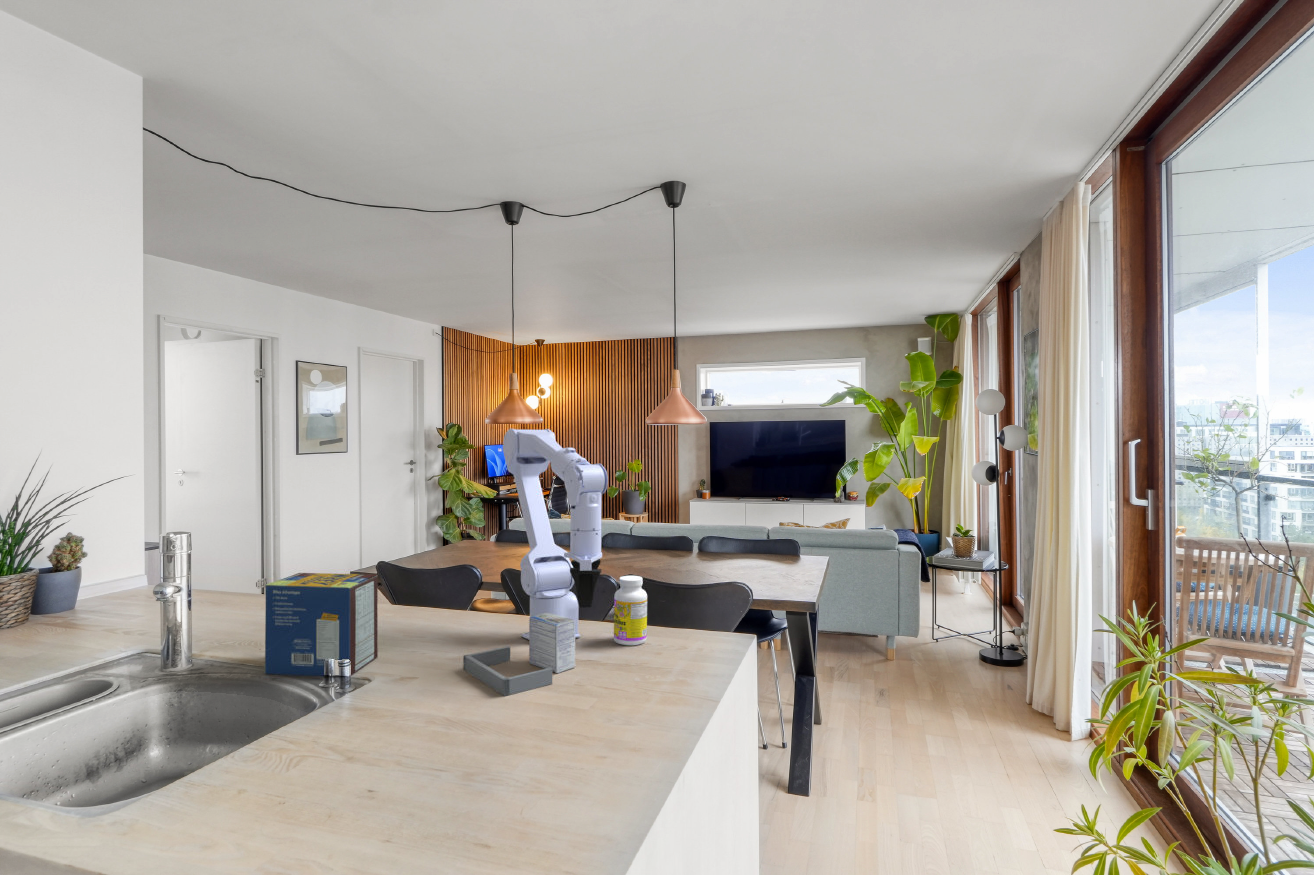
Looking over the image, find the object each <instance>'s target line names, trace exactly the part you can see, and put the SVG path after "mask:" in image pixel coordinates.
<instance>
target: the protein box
mask: <svg viewBox="0 0 1314 875" xmlns="http://www.w3.org/2000/svg"><path fill="white" fill-rule="evenodd" d="M264 585H265V586H264V587H265V624H264V625H265V630H264V631H265V634H264V635H265V637H264V639H265V641H264V644H265V645H264V646H265V649H264V674H265V675H281V676H282V675H285V676H287V675H288V676H289V675H290V676H314V677H325V676H324V661H325V659H328V658H331V659H335V660H342V659H349V660H350V661H351V676H353V675H355V673H357V672H359V671H360V670H361V669H363V668H364V667H366V666H367V665H368V664H370V663H372V662H373V661H374V660H375V659H378V656H379V654H378V651H379V650H378V649H379V648H378V632H379V630H378V622H379V621H378V616H379V615H378V602H379V601H378V592H379V591H378V590H379V589H378V587H379V586H378V585H379V584H378V574H373V573H372V574H371V573H364V574H363V573H362V574H361V573H327V572H326V573H322V572H321V573H318V572H317V573H315V572H314V573H313V572H298V573H295V574H293V575H289V576H287V577H284V578H281V579H278V580H275V581H273V582H269V583H267V584H264Z"/></svg>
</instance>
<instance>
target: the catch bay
mask: <svg viewBox="0 0 1314 875" xmlns="http://www.w3.org/2000/svg"><path fill="white" fill-rule="evenodd" d="M462 659H463V661H462V664H463V666H462V667H463V668H462V670H463V671H464V672H465V673H466V672H467V674H469V675H471V676H472V677H474V678H475V679H477V680H479V681H480V682H482V683H483V684H485V685H487V686H488V687H489V688H491V689H493V690H494V691H496V692H498V693H499V694H501V695H502V696H504V697H507V696H510V695H515V694H518V693H523V692H526V691H531V690H534V689H539V688H542V687H546V686H550V685H553V671H552V669H551V668H547V669H544V668H542V669H539V670H534V671H531V672H526V673H523V674H522V673H521V674H518V675H514V676H509V677H506V676H504V675H503V674H501V673H500V672H498V671H497V670H495V669H494V668H491V667H490V666H494V665H498V664H502V663H506V662H511V647H510V646H509V645H507V646H502V647H498V648H493V649H487V650H484V651H478V652H474V653H469V654H464V655H463V658H462Z"/></svg>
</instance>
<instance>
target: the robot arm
mask: <svg viewBox="0 0 1314 875" xmlns="http://www.w3.org/2000/svg"><path fill="white" fill-rule="evenodd" d="M502 451H503V455H504V456H503V457H504V460H505V464H506V468H507V471H508V472H509V473H511V474H512V475H513V477H514V482H515V486H516V487H515V488H516V492H517V495H518V500H519V504H520V508H521V514H522V518H523V523H524V526H525V532H526V536H527V540H528V544H529V550H528V552H526V554H525V555H524V556H523V557H522V558H521V561H520V563H519V564H520V567H519V568H520V583H521V586H522V587H521V588H522V589H523V591H524V592H525V593H526V595H528V596H529V618H530V617H532V616H535V615H539V614H543V613H551V614H555V615H559V616H562V617H566V618H569V619H573V620H574V621H575V639H577V638H580V637H581V634H580V633H579V608H581V609H582V608H592V605H593V601H594V596H595V590H596V585H597V583H598V579H599V578H600V575H601V573H602V568H599V566H600V564H601V561H602V560H601V559H602V558H603V552H602V498H603V497H602V495H603V494H605V493H606V491H607V489H608V484H609V476H608V472H607V469H606V468H605V466H603V464H602V463H594V464H591V463H590V462H589V461H587V458H585V457H582V456H581V455H580V454H579V453H578V452H576V448H574V447H564V448H563V447H562V446H561V445H560V444H559V443H558V442H557V441H556V434H555V432H553V431H552V430H551V429H549V428H545V429H515V428H508V430H507V431H506V433H505V434H504V436H503V443H502ZM549 464H550V467H551V470H552V472H553V473H554V474H555V475H556V476H557V477H559V478H560V479H561V480H562V481H563V482H564V488H565V491H566V495H567V503H568V505H570V533H569V534H570V541H569V542H570V543H569V544H570V550H569V551H567V550H565V549H564V548H562V547H560V546H559V545H557V544H555V540H554V537H553V532H552V526H551V523H550V519H549V516H548V515H549V514H548V511H547V507H546V503H545V498H544V493H543V490H542V489H543V488H542V487H541V486H542V485H541V482H540V477H539V476H540V474H542V473H544V472H546V471H547V469H548V467H549ZM570 559H571V560H570ZM574 584H575V590H576V595H577V596H576V595H575V593H574V592H572V591H570V590H571V589H572V588H573V586H574ZM520 635H521V637H522V638H524V639H527V640H529V632H524V633H521V634H520Z"/></svg>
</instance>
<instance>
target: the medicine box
mask: <svg viewBox="0 0 1314 875" xmlns="http://www.w3.org/2000/svg"><path fill="white" fill-rule="evenodd" d="M528 622H529V623H528V624H529V629H528V631H529V632H528V633H529V642H528V644H529V647H528V648H529V649H528V650H529V651H528V653H529V654H528V661H529V662H528V663H529V664H530V665H533V666H536V667H539V668H542V669H547V668H551V669H552V673H555V674H559V673H563V672H566V671H569V670H571V669H574V668H576V638H575V621H574V620H573V619H569V618H566V617H562V616H559V615H555V614H551V613H543V614H539V615H535V616H532V617H530V616H529V620H528Z"/></svg>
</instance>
